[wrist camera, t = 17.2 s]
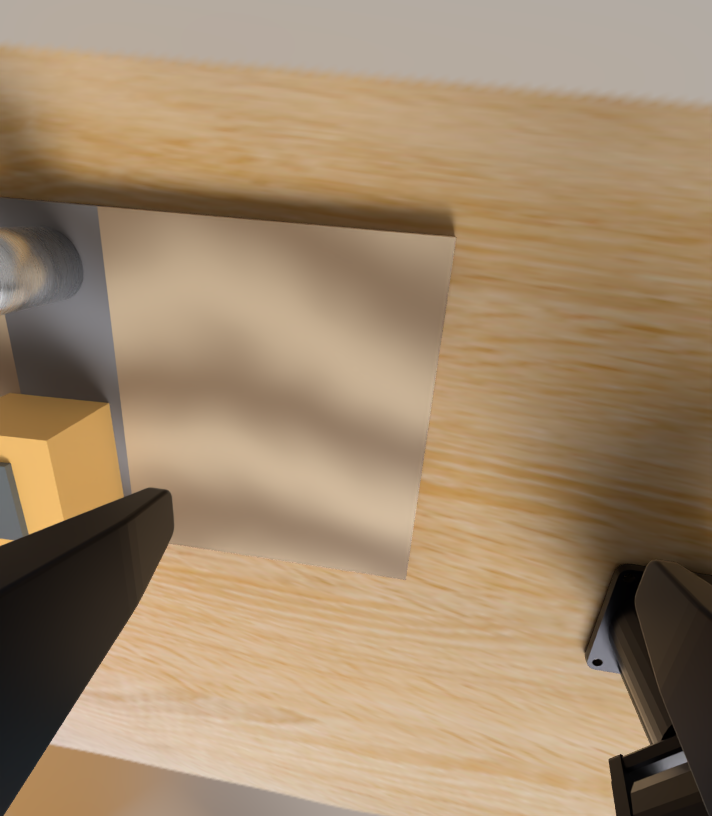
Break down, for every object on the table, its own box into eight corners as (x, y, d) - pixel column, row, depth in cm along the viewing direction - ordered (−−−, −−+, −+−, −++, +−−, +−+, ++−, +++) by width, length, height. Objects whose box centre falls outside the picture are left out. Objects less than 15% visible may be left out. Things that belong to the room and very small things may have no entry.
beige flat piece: (406, 566, 25) (405, 580, 24) (10, 506, 27) (-5, 517, 26) (454, 236, 19) (456, 237, 18) (-65, 191, 21) (-87, 190, 20)
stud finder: (126, 512, 25) (69, 570, 21) (35, 501, 25) (-38, 555, 21) (109, 403, 22) (41, 444, 18) (9, 393, 23) (-78, 431, 19)
